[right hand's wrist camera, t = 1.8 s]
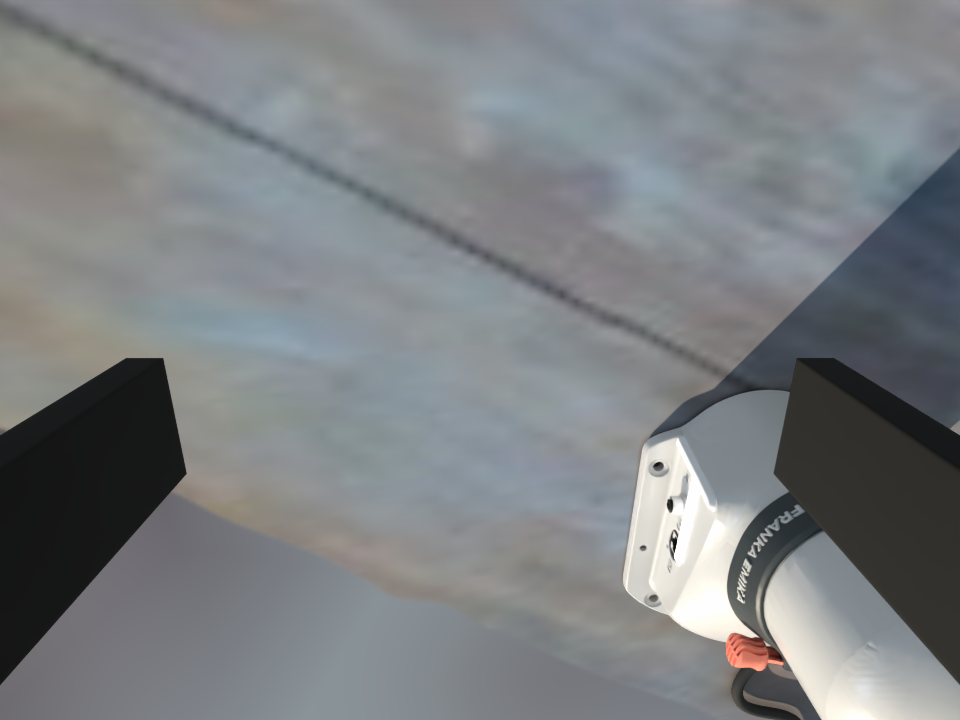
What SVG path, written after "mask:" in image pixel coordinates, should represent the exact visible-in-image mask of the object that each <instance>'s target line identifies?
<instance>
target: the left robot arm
mask: <svg viewBox="0 0 960 720" xmlns="http://www.w3.org/2000/svg"><path fill="white" fill-rule="evenodd" d="M789 394H790V392H787V391H781V390H757V391H751V392H746V393H742V394H738V395H735V396H732V397H729V398H727V399H724V400H722V401H720V402H718V403H716V404H714V405H712V406H711V407H709V408H708V409H706V410H705V411H703V412H702V413H700V414H699V415H698V416H696V417H695V418H694V419H692V420H691V421H690V422H688V423H687V424H685V425H683V426H682V427H679V428H676V429H672V430H669V431H666V432H663V433H660V434H658V435H655V436H653V437H651V438H650V439H648V440H647V441H646V443H645V444H644V446H643V449H642V455H641V462H640V468H639V475H638V481H637V488H636V495H635V501H634V508H633V514H632V521H631V527H630V534H629V540H628V547H627V554H626V560H625V567H624V574H623V584H624V586H625V588H626V590H627V592H628V593H629V594H630V595H631V596H633V597H634V598H635V599H636V600H638V601H639V602H641V603H642V604H644V605H645V606H647V607H650V608H652V609H654V610H656V611H659V612H661V613H664V614H667V615H670V617H671V618H672V619H673V620H674V621H676V622H677V623H678V624H679V625H681V626H682V627H684V628H686V629H687V630H689V631H692V632H694V633H696V634H699V635H701V636H704V637H707V638H710V639H714V640H718V641H722V642H727V643H726V649H727V651H726V654H727V656H728V661H729V662H731V665H732V666H735V667H739V668H741V670H740V671H739V672H738V674H737V676H736V677H735V679H734V682H733V684H732V697H733V700H734V702H735V704H736V705H737V706H738V707H739V708H740V709H741V710H742V711H744V712H746V713H748V714H751V715H754V716H757V717H762V718H768V719H774V720H801V719H799V718H798V717H797V716H796V715H794V714H792V713H790V712H788V711H785V710H782V709H777V708H772V707H766V706H760V705H755V704H752V703H749V702H747V701H746V700H745V699H744V697H743V689H744V686H745V684H746V682H747V681H748V679H749V678H750V677H751V676H752V675H753V673H754V672H755V671H756V670H757V671H762V670H764V669H765V667H766V666H767V663H768V662H769V663H774V664H779V665H782V666H783V668H784V669H785V670H787V671H791V672H793V673H794V674H795V676H796V678H797V679H798V681H799V683H800V684H801V686H802V688H803V689H804V691H805V693H806V694H807V696H808V698H809V699H810V701H811V703H812V704H813V706H814V708H815V709H816V711H817V713H818V714H819V716H820V718H821V719H822V720H960V685H959V684H958V682H957V681H956V680H955V679H954V678H953V677H952V676H951V675H950V673H949V672H948V671H947V670H946V669H945V668H944V667H943V665H942V664H941V663H940V662H939V661H938V660H937V659H936V658H935V656H934V655H933V654H932V653H931V652H930V651H929V650H928V648H927V647H926V646H925V645H924V644H923V643H922V642H921V641H920V639H919V638H918V637H917V636H916V635H915V634H914V633H913V631H912V630H911V629H910V628H909V627H908V626H907V625H906V624H905V622H904V621H903V620H902V619H901V618H900V617H899V616H898V614H897V613H896V612H895V611H894V610H893V609H892V608H891V607H890V605H889V604H888V603H887V602H886V601H885V600H884V599H883V597H882V596H881V595H880V594H879V593H878V592H877V591H876V589H875V588H874V587H873V586H872V585H871V584H870V583H869V582H868V580H867V579H866V578H865V577H864V576H863V575H862V574H861V572H860V571H859V570H858V569H857V568H856V567H855V566H854V565H853V563H852V562H851V561H850V560H849V559H848V558H847V557H846V555H845V554H844V553H843V552H842V551H841V550H840V549H839V548H838V546H837V545H836V544H835V543H834V542H833V541H832V540H831V538H830V537H829V536H828V535H827V534H826V533H825V532H824V531H823V529H822V528H821V527H820V526H819V525H818V524H817V523H816V521H815V520H814V519H813V518H812V517H811V516H810V515H809V514H808V512H807V511H806V510H805V509H804V508H803V507H802V506H801V504H800V503H799V502H798V501H797V500H796V499H795V498H794V497H793V495H792V494H791V493H790V492H789V491H788V490H787V489H786V487H785V486H784V485H783V484H782V483H781V482H780V481H779V480H778V478H777V477H776V476H775V475H774V474H773V473H774V468H775V463H776V458H777V453H778V448H779V443H780V439H781V434H782V429H783V424H784V419H785V414H786V409H787V404H788V399H789ZM656 462H661V464H660V465H659V466H656V467H655V466H653V465H654V464H655V463H656ZM651 595H654V596H651Z"/></svg>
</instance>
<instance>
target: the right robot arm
mask: <svg viewBox="0 0 960 720" xmlns="http://www.w3.org/2000/svg"><path fill="white" fill-rule="evenodd" d="M186 474H187V473H186V468H185V463H184V458H183V453H182V448H181V443H180V439H179V434H178V429H177V424H176V419H175V414H174V409H173V404H172V399H171V394H170V389H169V385H168V380H167V375H166V370H165V365H164V360H163V358H126V359H124V360H122V361H121V362H119V363H117V364H116V365H114V366H113V367H111V368H109V369H108V370H106V371H104V372H103V373H101V374H100V375H98V376H96V377H95V378H93V379H91V380H90V381H88V382H87V383H85V384H83V385H82V386H80V387H78V388H77V389H75V390H73V391H72V392H70V393H69V394H67V395H65V396H64V397H62V398H60V399H59V400H57V401H56V402H54V403H52V404H51V405H49V406H47V407H46V408H44V409H42V410H41V411H39V412H38V413H36V414H34V415H33V416H31V417H29V418H28V419H26V420H25V421H23V422H21V423H20V424H18V425H16V426H15V427H13V428H11V429H10V430H8V431H7V432H5V433H3V434H2V435H0V685H1V684H2V682H3V681H4V680H5V679H6V678H7V677H8V676H9V675H10V673H11V672H12V671H13V670H14V669H15V668H16V666H17V665H18V664H19V663H20V662H21V661H22V660H23V659H24V657H25V656H26V655H27V654H28V653H29V652H30V651H31V650H32V648H33V647H34V646H35V645H36V644H37V643H38V642H39V641H40V639H41V638H42V637H43V636H44V635H45V634H46V633H47V631H48V630H49V629H50V628H51V627H52V626H53V625H54V623H55V622H56V621H57V620H58V619H59V618H60V617H61V616H62V614H63V613H64V612H65V611H66V610H67V609H68V608H69V606H70V605H71V604H72V603H73V602H74V601H75V600H76V599H77V597H78V596H79V595H80V594H81V593H82V592H83V591H84V589H85V588H86V587H87V586H88V585H89V584H90V583H91V582H92V580H93V579H94V578H95V577H96V576H97V575H98V574H99V572H100V571H101V570H102V569H103V568H104V567H105V566H106V565H107V563H108V562H109V561H110V560H111V559H112V558H113V557H114V555H115V554H116V553H117V552H118V551H119V550H120V549H121V547H122V546H123V545H124V544H125V543H126V542H127V541H128V540H129V538H130V537H131V536H132V535H133V534H134V533H135V532H136V531H137V529H138V528H139V527H140V526H141V525H142V524H143V523H144V521H145V520H146V519H147V518H148V517H149V516H150V515H151V514H152V512H153V511H154V510H155V509H156V508H157V507H158V506H159V504H160V503H161V502H162V501H163V500H164V499H165V498H166V497H167V495H168V494H169V493H170V492H171V491H172V490H173V489H174V487H175V486H176V485H177V484H178V483H179V482H180V481H181V480H182V478H183V477H184V476H185V475H186ZM773 474H774V475H775V476H776V477H777V478H778V480H779V481H780V482H781V483H782V484H783V485H784V486H785V487H786V489H787V490H788V491H789V492H790V493H791V494H792V495H793V497H794V498H795V499H796V500H797V501H798V502H799V503H800V504H801V506H802V507H803V508H804V509H805V510H806V511H807V512H808V514H809V515H810V516H811V517H812V518H813V519H814V520H815V521H816V523H817V524H818V525H819V526H820V527H821V528H822V529H823V531H824V532H825V533H826V534H827V535H828V536H829V537H830V538H831V540H832V541H833V542H834V543H835V544H836V545H837V546H838V548H839V549H840V550H841V551H842V552H843V553H844V554H845V555H846V557H847V558H848V559H849V560H850V561H851V562H852V563H853V565H854V566H855V567H856V568H857V569H858V570H859V571H860V572H861V574H862V575H863V576H864V577H865V578H866V579H867V580H868V582H869V583H870V584H871V585H872V586H873V587H874V588H875V589H876V591H877V592H878V593H879V594H880V595H881V596H882V597H883V599H884V600H885V601H886V602H887V603H888V604H889V605H890V607H891V608H892V609H893V610H894V611H895V612H896V613H897V614H898V616H899V617H900V618H901V619H902V620H903V621H904V622H905V624H906V625H907V626H908V627H909V628H910V629H911V630H912V631H913V633H914V634H915V635H916V636H917V637H918V638H919V639H920V641H921V642H922V643H923V644H924V645H925V646H926V647H927V648H928V650H929V651H930V652H931V653H932V654H933V655H934V656H935V658H936V659H937V660H938V661H939V662H940V663H941V664H942V665H943V667H944V668H945V669H946V670H947V671H948V672H949V673H950V675H951V676H952V677H953V678H954V679H955V680H956V681H957V682H958V684H959V685H960V435H958V434H957V433H955V432H953V431H952V430H950V429H949V428H947V427H945V426H944V425H942V424H940V423H939V422H937V421H935V420H934V419H932V418H931V417H929V416H927V415H926V414H924V413H922V412H921V411H919V410H918V409H916V408H914V407H913V406H911V405H909V404H908V403H906V402H904V401H903V400H901V399H900V398H898V397H896V396H895V395H893V394H891V393H890V392H888V391H887V390H885V389H883V388H882V387H880V386H878V385H877V384H875V383H873V382H872V381H870V380H869V379H867V378H865V377H864V376H862V375H860V374H859V373H857V372H856V371H854V370H852V369H851V368H849V367H847V366H846V365H844V364H843V363H841V362H839V361H838V360H836V359H834V358H797V360H796V365H795V370H794V375H793V380H792V385H791V389H790V394H789V399H788V404H787V409H786V414H785V419H784V424H783V429H782V434H781V439H780V443H779V448H778V453H777V458H776V463H775V468H774V473H773Z"/></svg>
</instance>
